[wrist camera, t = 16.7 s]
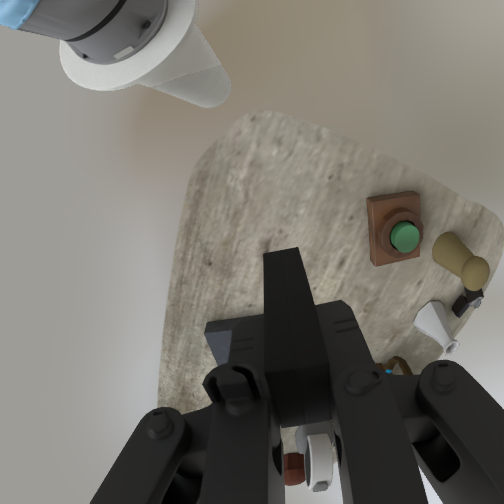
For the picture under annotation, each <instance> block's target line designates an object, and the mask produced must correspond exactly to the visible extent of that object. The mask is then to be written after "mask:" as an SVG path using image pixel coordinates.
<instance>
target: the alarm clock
mask: <svg viewBox="0 0 504 504" xmlns="http://www.w3.org/2000/svg"><path fill="white" fill-rule="evenodd" d="M295 439H296V446H297V449H298V452H299V453H300V454H304V463H305V477H306V484H307V487H308V489H309V490H312V489H313V492H318V491H325V490H327V489H328V487H329V486H330V485H331V482H332V478H333V454H332V443H333V439H334V431H333V425H332V423H331V421H324V422H318V423H312V424H306V425H300V426H299V428H298V429H297V431H296V434H295Z"/></svg>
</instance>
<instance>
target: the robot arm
mask: <svg viewBox="0 0 504 504" xmlns="http://www.w3.org/2000/svg"><path fill="white" fill-rule="evenodd" d="M167 11H168V0H0V25H4V26H8V27H9V28H10V29H14V30H15V29H16V30H21V31H26V32H31V33H36V34H40V35H45V36H49V37H52V38H56V39H60V40H63V41H65V42H66V43H67V44H68V45H69V46H70V48H71V49H72V50H73V51H74V52H75V53H76V54H77V56H79V57H80V58H81V59H83V60H85V61H87V62H90V63H93V64H98V65H109V64H114V63H118V62H121V61H123V60H125V59H127V58H129V57H131V56H133V55H134V54H136V53H137V52H139V51H140V50H141V49H143V48H144V47H145V46H146V45H147V44H148V43H149V42H150V41H151V40H152V39H153V38H154V37H155V35H156V34H157V33H158V31H159V30H160V28H161V27H162V25H163V23H164V21H165V18H166V15H167ZM263 264H264V316H258V317H251V318H245V319H239V321H238V322H237V324H236V325H235V326H234V328H233V329H232V335H231V343H230V349H229V350H230V352H229V357H228V363H224V364H221V365H219V366H218V367H216V368H214V369H212V370H211V371H210V372H209V373H208V374H207V375H206V377H205V379H204V381H203V384H202V385H203V387H204V389H205V390H206V392H207V394H208V396H209V397H210V399H211V401H212V404H211V405H209V406H208V407H205V408H203V409H200V410H197V411H193V412H190V413H187V414H183V415H181V413H180V412H179V411H178V410H175V409H173V408H171V407H161V408H157V409H154V410H152V411H150V412H149V413H147V414H146V415H145V416H144V417H143V418H142V419H141V420H140V422H139V424H138V425H137V427H136V428H135V430H134V432H133V433H132V435H131V437H130V438H129V440H128V441H127V443H126V445H125V447H124V448H123V450H122V451H121V453H120V454H119V456H118V458H117V459H116V461H115V463H114V464H113V466H112V468H111V469H110V471H109V472H108V474H107V476H106V477H105V479H104V481H103V482H102V484H101V486H100V487H99V489H98V491H97V492H96V494H95V495H94V497H93V499H92V500H91V502H90V504H285V481H284V453H283V442H282V439H281V434H280V425H281V428H285V427H293V426H300V425H306V424H312V423H318V422H324V421H329V420H332V422H333V428H334V446H335V448H336V454H337V461H338V468H339V474H340V481H341V488H342V496H343V504H428V500H427V496H426V493H425V489H424V485H423V481H422V478H421V474H420V471H419V467H420V469H421V470H422V472H423V473H424V475H425V476H426V478H427V479H428V481H429V482H430V484H431V485H432V487H433V488H434V490H435V492H436V493H437V495H438V496H439V498H440V499H441V501H442V502H443V504H504V409H502V407H501V406H500V405H499V404H498V403H497V402H496V401H495V400H494V399H493V397H491V395H490V394H489V393H488V392H487V391H486V390H485V389H484V388H483V387H482V386H481V385H480V384H479V383H478V382H477V381H476V380H475V379H474V378H473V377H472V376H471V375H470V374H469V373H468V372H467V371H466V370H465V369H464V368H463V367H462V366H460V365H459V364H457V363H456V362H453V361H450V360H437V361H434V362H432V363H430V364H428V365H427V366H426V367H425V368H424V369H423V370H422V372H421V374H420V375H393V374H390V373H387V372H385V371H383V370H382V369H381V368H379V367H378V366H377V365H376V364H375V362H374V361H373V359H372V356H371V354H370V351H369V349H368V346H367V344H366V341H365V339H364V337H363V334H362V332H361V330H360V328H359V325H358V323H357V320H356V319H355V316H354V313H353V311H352V309H351V307H350V306H348V305H347V304H346V303H345V302H343V301H342V300H338V301H333V302H328V303H324V304H319V305H315V304H314V301H313V297H312V293H311V290H310V286H309V283H308V279H307V276H306V272H305V269H304V265H303V262H302V258H301V255H300V252H299V248H298V247H295V248H290V249H285V250H280V251H275V252H269V253H264V254H263ZM418 466H419V467H418Z"/></svg>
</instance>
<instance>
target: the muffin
mask: <svg viewBox="0 0 504 504" xmlns="http://www.w3.org/2000/svg"><path fill="white" fill-rule="evenodd" d="M305 480H306V477H305V463H304V454H299V453H291V454H285V455H284V481H285V485H288V486H292V485H298V484H301V483H302V482H304V481H305Z"/></svg>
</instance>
